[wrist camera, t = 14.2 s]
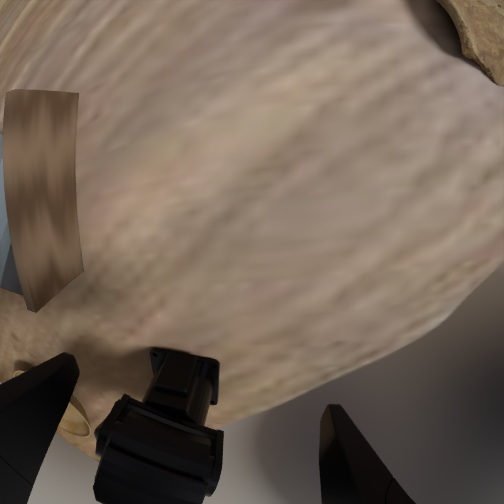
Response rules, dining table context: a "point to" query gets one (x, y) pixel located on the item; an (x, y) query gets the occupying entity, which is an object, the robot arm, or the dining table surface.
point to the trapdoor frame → (41, 191)
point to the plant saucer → (72, 417)
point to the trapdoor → (6, 247)
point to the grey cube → (1, 147)
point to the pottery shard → (480, 33)
